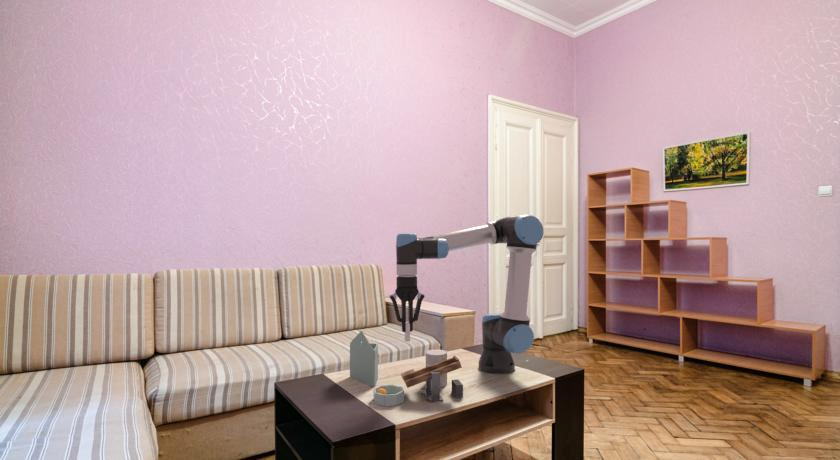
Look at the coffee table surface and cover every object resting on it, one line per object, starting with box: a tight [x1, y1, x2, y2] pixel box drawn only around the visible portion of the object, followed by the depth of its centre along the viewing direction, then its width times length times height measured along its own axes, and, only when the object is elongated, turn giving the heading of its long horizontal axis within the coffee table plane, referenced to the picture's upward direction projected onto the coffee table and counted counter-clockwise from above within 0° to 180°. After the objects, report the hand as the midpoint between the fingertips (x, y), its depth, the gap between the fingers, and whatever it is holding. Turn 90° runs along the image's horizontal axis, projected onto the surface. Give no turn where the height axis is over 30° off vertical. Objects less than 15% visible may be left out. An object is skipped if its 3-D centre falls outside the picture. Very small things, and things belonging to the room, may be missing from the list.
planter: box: [349, 330, 379, 388], centre depth 173 cm, size 16×8×20 cm, turn 41°
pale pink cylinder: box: [425, 349, 448, 388], centre depth 168 cm, size 8×8×12 cm
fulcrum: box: [422, 364, 444, 404], centre depth 155 cm, size 5×10×10 cm, turn 12°
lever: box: [400, 355, 462, 388], centre depth 158 cm, size 20×13×3 cm
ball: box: [377, 388, 387, 395], centre depth 151 cm, size 4×4×4 cm
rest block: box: [451, 378, 464, 399], centre depth 157 cm, size 2×6×4 cm, turn 12°
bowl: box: [373, 384, 405, 407], centre depth 152 cm, size 10×10×4 cm
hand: (407, 340), depth 161 cm, fingers closed
